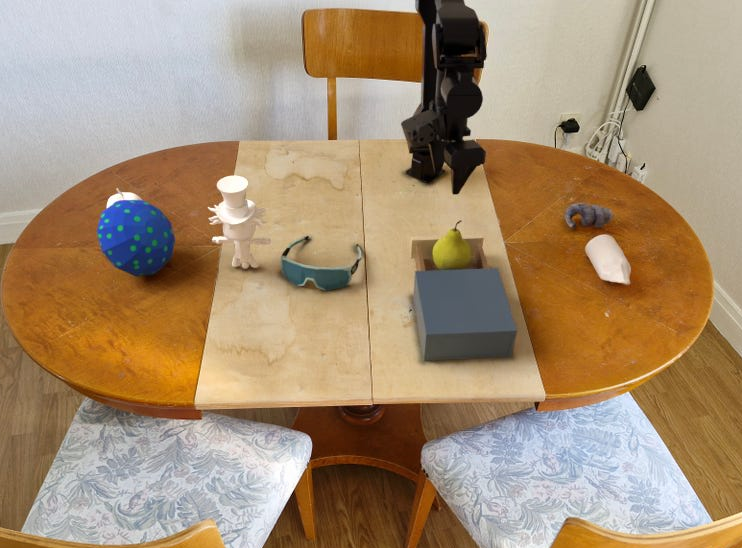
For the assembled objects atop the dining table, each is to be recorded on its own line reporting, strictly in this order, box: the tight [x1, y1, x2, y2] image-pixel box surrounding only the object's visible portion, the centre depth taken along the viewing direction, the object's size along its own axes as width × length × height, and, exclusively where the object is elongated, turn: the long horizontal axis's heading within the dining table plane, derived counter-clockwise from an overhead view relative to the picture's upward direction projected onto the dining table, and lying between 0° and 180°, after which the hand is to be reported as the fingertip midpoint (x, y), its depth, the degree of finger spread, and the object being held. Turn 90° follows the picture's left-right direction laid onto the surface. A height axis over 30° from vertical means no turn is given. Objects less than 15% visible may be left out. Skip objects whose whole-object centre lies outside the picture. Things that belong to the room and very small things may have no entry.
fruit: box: [433, 219, 471, 270], centre depth 122 cm, size 7×7×12 cm
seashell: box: [563, 202, 615, 230], centre depth 138 cm, size 5×5×10 cm
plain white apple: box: [106, 187, 143, 209], centre depth 134 cm, size 7×7×8 cm
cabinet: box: [412, 267, 518, 362], centre depth 117 cm, size 16×15×6 cm
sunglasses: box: [280, 235, 362, 292], centre depth 128 cm, size 14×15×5 cm
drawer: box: [409, 233, 489, 271], centre depth 125 cm, size 16×13×4 cm
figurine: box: [207, 175, 271, 270], centre depth 121 cm, size 10×8×18 cm
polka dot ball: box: [96, 199, 176, 278], centre depth 124 cm, size 14×14×15 cm
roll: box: [584, 234, 632, 286], centre depth 127 cm, size 6×12×6 cm, turn 8°
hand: (446, 183), depth 126 cm, fingers open, 9 cm apart
